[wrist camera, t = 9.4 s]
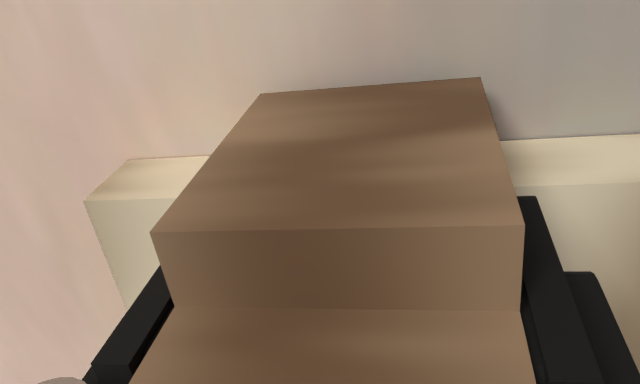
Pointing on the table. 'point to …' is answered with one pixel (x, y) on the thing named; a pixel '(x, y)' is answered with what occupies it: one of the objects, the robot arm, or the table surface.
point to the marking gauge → (347, 246)
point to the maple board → (528, 180)
